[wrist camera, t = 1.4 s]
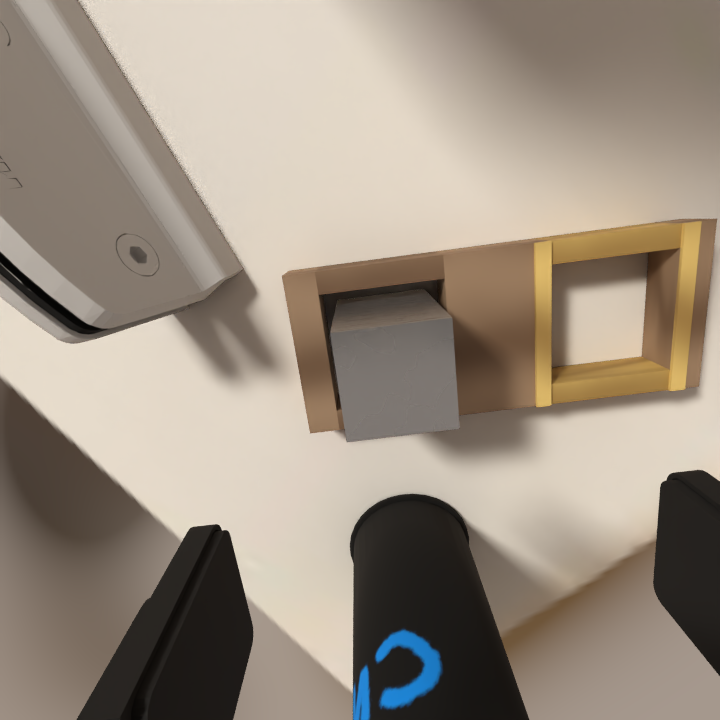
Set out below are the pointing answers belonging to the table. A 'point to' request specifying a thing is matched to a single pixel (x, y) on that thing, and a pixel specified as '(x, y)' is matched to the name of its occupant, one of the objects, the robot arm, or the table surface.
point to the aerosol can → (424, 620)
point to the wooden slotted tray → (522, 317)
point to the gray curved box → (90, 187)
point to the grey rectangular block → (394, 365)
